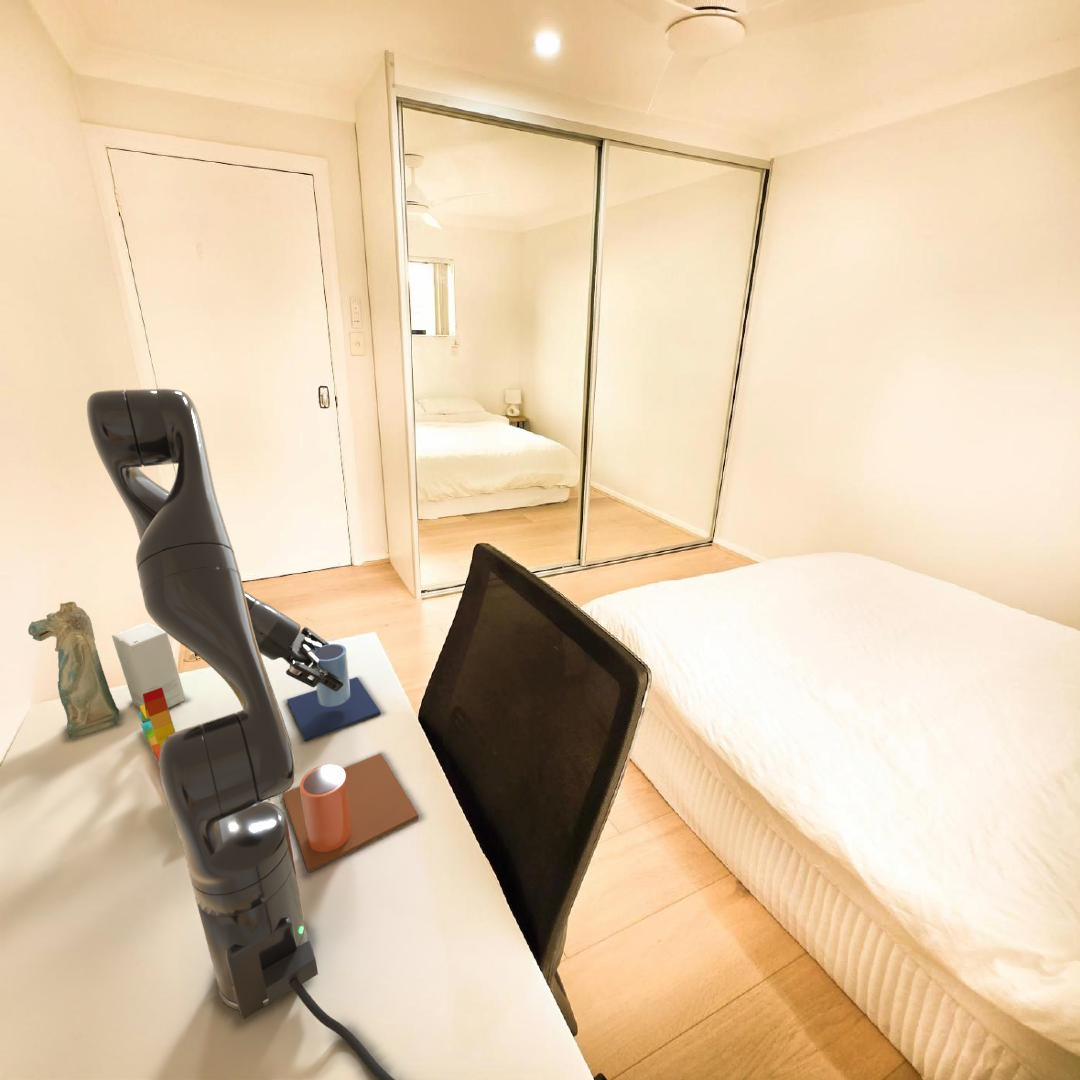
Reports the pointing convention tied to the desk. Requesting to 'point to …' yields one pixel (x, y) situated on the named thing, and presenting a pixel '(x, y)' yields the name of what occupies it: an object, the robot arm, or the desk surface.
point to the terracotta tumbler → (326, 808)
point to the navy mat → (331, 711)
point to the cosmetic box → (148, 663)
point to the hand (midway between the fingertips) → (341, 676)
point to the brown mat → (359, 809)
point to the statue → (78, 670)
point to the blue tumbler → (336, 664)
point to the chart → (156, 719)
